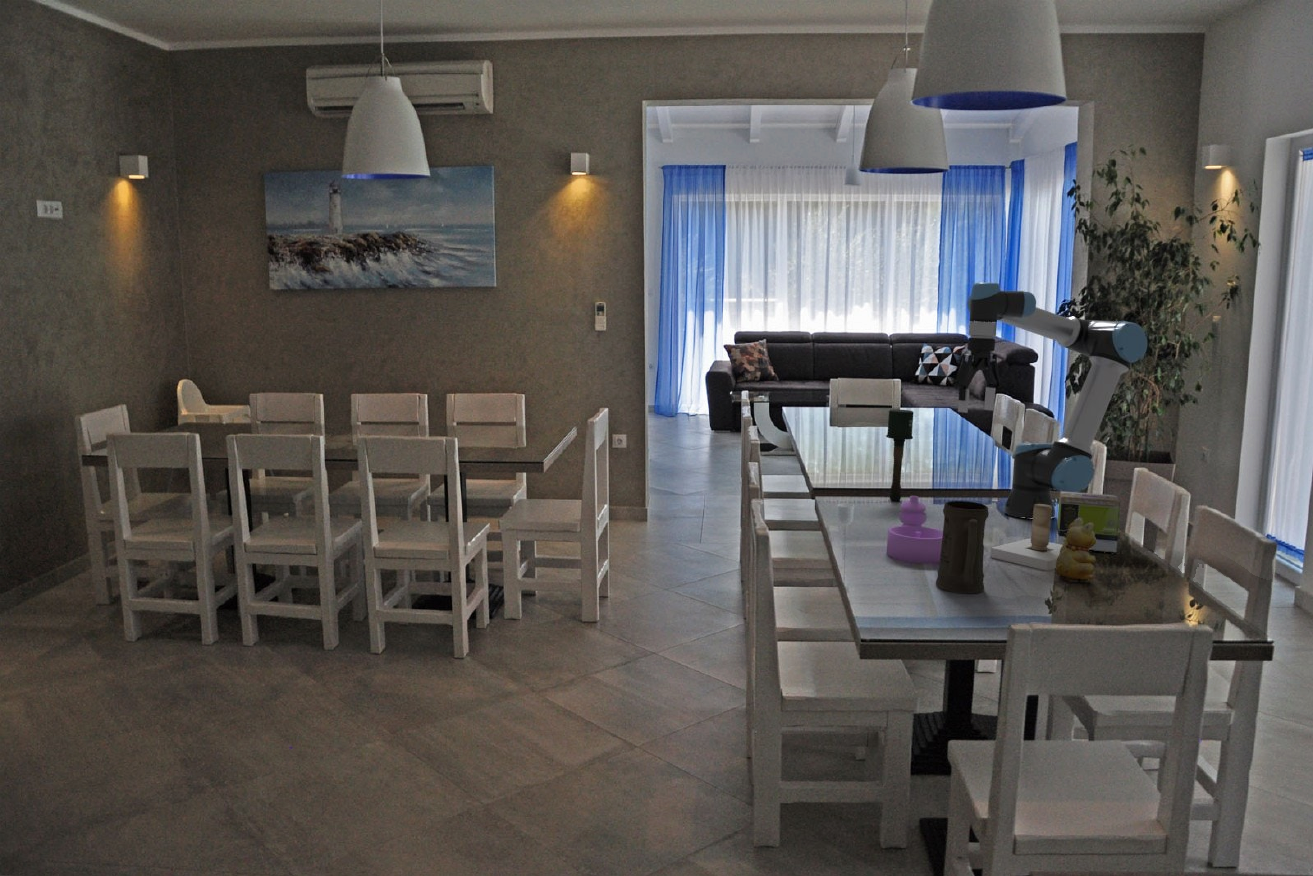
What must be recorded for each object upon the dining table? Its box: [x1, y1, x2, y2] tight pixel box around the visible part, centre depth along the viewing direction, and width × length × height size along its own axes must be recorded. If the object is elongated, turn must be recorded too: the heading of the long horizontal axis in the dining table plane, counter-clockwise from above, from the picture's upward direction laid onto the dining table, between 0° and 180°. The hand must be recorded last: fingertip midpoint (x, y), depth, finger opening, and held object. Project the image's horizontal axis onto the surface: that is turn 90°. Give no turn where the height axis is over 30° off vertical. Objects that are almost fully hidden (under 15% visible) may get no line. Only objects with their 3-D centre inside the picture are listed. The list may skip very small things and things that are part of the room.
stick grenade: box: [885, 408, 914, 502], centre depth 338 cm, size 8×9×30 cm
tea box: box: [1056, 491, 1121, 552], centre depth 281 cm, size 15×10×15 cm
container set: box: [886, 495, 943, 564], centre depth 270 cm, size 25×15×13 cm, turn 172°
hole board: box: [989, 537, 1063, 571], centre depth 268 cm, size 20×16×2 cm
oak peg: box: [1030, 504, 1052, 553], centre depth 267 cm, size 4×4×14 cm
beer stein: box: [935, 500, 989, 595], centre depth 234 cm, size 15×11×20 cm
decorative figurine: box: [1055, 518, 1097, 583], centre depth 246 cm, size 10×8×15 cm
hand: (975, 411), depth 296 cm, fingers open, 13 cm apart
